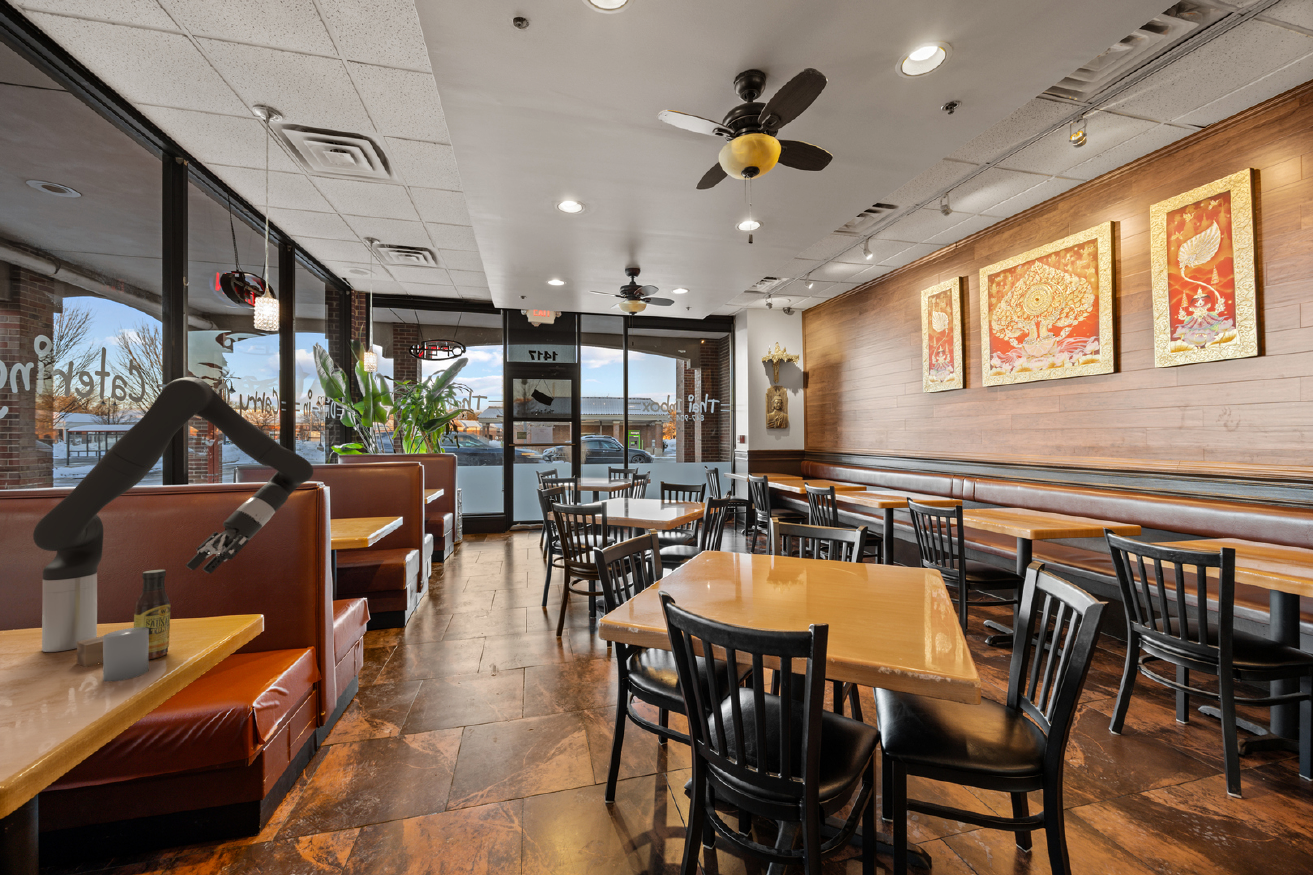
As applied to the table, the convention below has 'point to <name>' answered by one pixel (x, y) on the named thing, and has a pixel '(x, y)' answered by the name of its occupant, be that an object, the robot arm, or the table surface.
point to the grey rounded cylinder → (125, 654)
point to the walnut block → (90, 651)
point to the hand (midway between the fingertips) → (197, 569)
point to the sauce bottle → (154, 612)
